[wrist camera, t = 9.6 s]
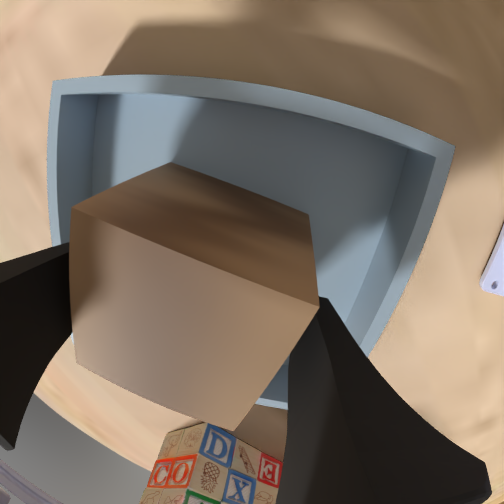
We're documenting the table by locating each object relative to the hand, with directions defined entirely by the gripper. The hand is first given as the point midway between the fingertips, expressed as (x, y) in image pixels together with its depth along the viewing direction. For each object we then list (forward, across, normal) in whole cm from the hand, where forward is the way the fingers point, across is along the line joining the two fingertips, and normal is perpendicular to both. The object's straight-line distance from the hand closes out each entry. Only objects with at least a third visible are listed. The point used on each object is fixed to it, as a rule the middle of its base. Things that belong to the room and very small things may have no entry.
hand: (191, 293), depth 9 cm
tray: (+4, 0, 0) cm, 4 cm away
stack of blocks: (+4, -8, +24) cm, 25 cm away
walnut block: (+3, 0, 0) cm, 4 cm away
